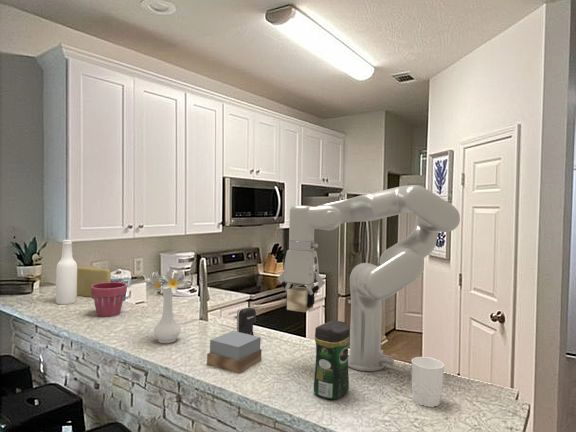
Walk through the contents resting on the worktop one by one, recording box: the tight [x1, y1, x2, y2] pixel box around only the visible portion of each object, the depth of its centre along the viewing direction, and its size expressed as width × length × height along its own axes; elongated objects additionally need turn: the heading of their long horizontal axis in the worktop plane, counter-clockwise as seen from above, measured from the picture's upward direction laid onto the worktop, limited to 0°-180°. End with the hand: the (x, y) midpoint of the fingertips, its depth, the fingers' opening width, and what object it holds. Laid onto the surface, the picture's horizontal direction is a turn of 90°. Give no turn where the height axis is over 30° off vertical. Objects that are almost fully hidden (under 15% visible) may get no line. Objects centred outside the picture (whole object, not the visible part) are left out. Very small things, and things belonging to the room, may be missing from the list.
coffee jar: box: [313, 319, 350, 400], centre depth 108 cm, size 10×8×19 cm
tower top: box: [209, 330, 261, 361], centre depth 127 cm, size 11×11×4 cm
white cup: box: [411, 356, 445, 407], centre depth 105 cm, size 8×8×10 cm
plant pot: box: [91, 281, 128, 318], centre depth 177 cm, size 14×14×13 cm
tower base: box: [206, 348, 263, 374], centre depth 127 cm, size 12×12×4 cm
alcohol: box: [55, 239, 78, 306], centre depth 195 cm, size 9×9×30 cm
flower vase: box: [144, 270, 190, 344], centre depth 145 cm, size 13×18×25 cm
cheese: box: [77, 265, 112, 299], centre depth 209 cm, size 22×10×15 cm, turn 57°
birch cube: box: [286, 286, 314, 313], centre depth 124 cm, size 6×6×6 cm
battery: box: [236, 306, 257, 336], centre depth 149 cm, size 7×4×11 cm, turn 139°
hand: (300, 304), depth 124 cm, fingers closed on birch cube, 6 cm apart
